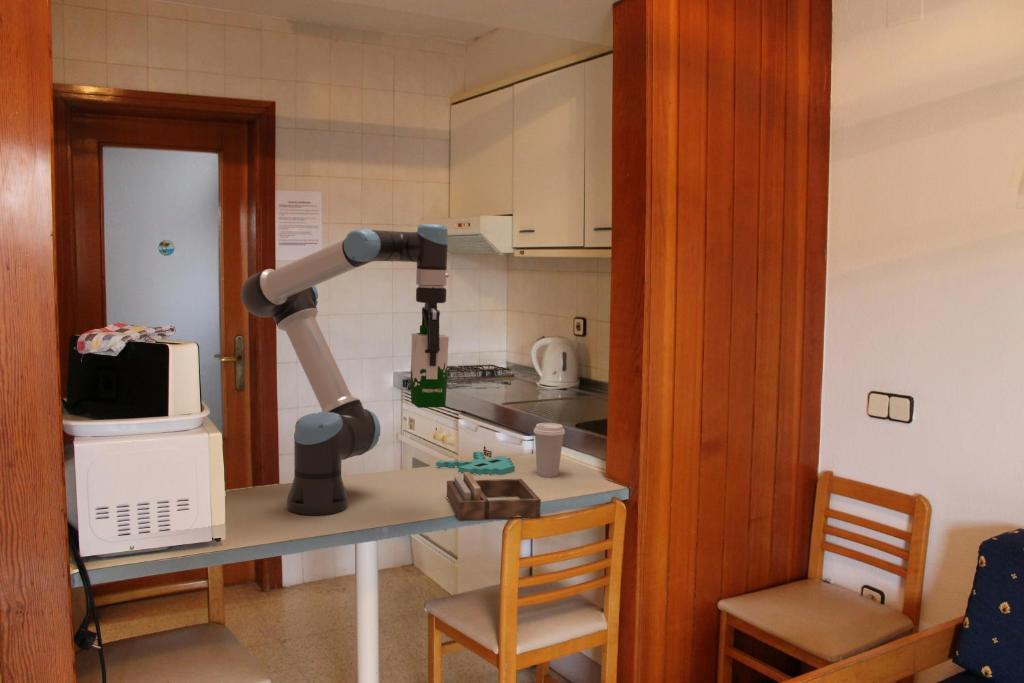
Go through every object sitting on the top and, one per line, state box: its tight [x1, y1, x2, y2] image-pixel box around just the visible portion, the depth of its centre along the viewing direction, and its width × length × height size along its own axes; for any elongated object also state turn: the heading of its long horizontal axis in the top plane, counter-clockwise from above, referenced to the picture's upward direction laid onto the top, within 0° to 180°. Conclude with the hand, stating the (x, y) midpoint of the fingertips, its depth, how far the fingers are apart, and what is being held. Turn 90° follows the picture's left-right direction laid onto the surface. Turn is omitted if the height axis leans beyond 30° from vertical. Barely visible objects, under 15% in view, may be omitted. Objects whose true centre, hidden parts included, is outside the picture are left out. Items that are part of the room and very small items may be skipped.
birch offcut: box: [462, 472, 481, 501], centre depth 226 cm, size 2×16×8 cm, turn 13°
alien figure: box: [435, 450, 516, 476], centre depth 269 cm, size 20×2×20 cm
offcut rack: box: [446, 478, 542, 521], centre depth 228 cm, size 21×20×4 cm
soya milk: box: [410, 324, 450, 409], centre depth 220 cm, size 9×9×20 cm
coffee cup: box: [533, 422, 566, 478], centre depth 263 cm, size 10×10×15 cm
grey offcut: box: [453, 475, 471, 501], centre depth 226 cm, size 2×16×6 cm, turn 13°
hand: (428, 376), depth 220 cm, fingers closed on soya milk, 9 cm apart
